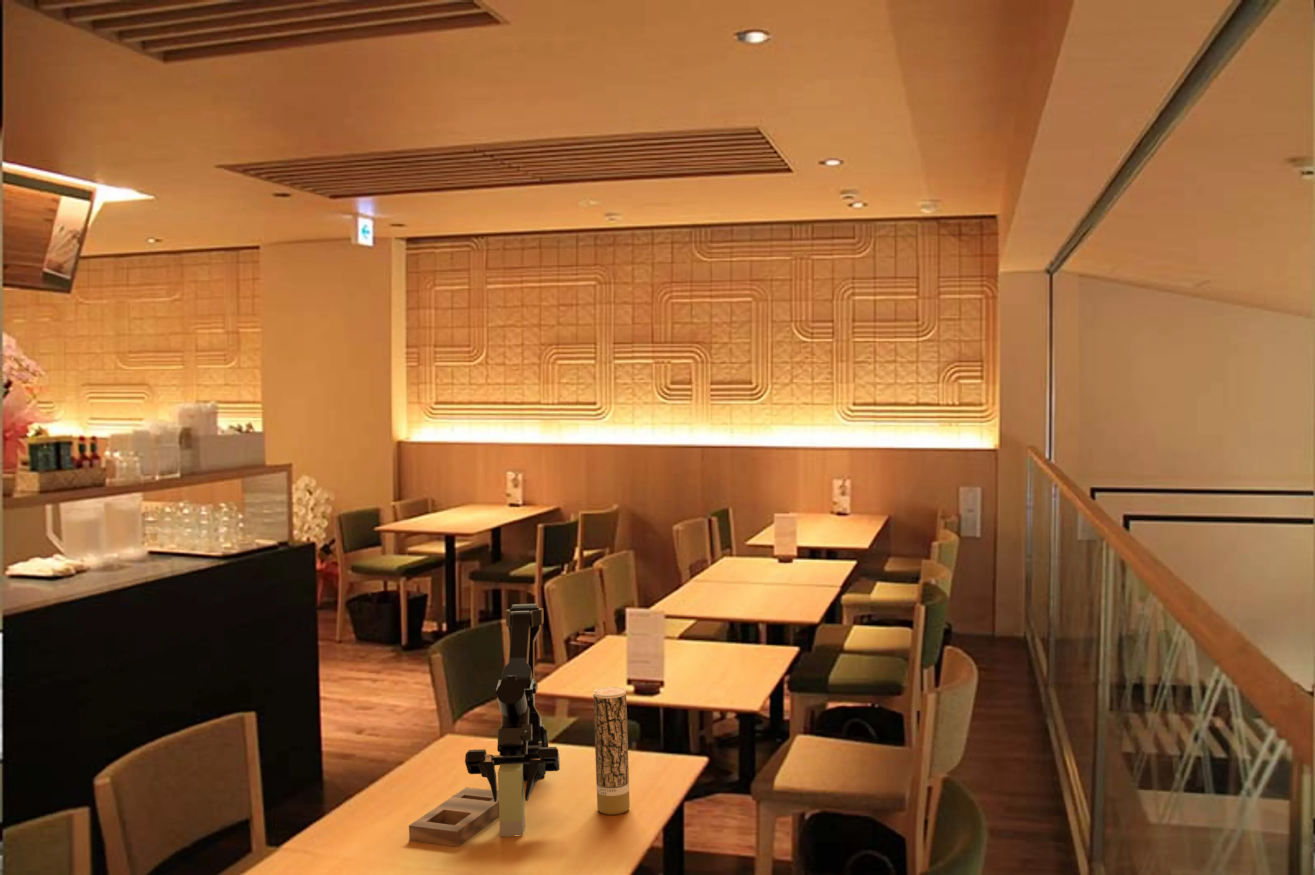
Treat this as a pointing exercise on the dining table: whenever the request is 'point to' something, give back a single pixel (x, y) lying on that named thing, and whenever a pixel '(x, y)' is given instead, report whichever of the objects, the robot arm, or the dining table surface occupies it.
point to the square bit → (511, 799)
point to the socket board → (456, 818)
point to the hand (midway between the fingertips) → (510, 800)
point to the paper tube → (611, 750)
